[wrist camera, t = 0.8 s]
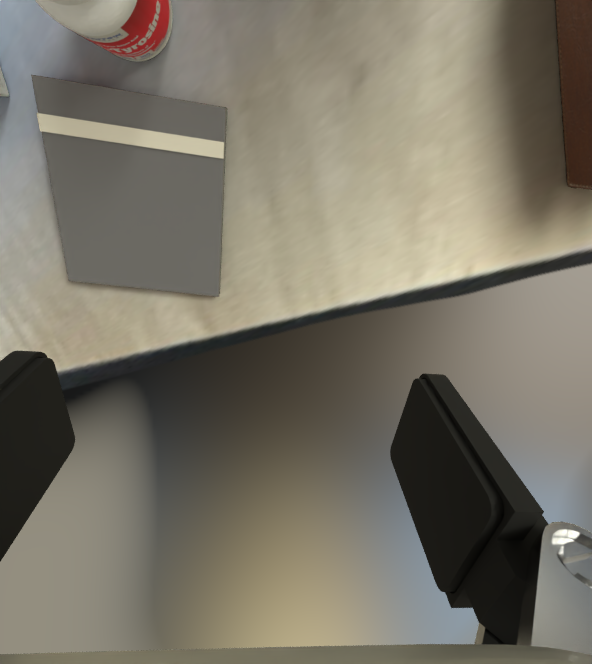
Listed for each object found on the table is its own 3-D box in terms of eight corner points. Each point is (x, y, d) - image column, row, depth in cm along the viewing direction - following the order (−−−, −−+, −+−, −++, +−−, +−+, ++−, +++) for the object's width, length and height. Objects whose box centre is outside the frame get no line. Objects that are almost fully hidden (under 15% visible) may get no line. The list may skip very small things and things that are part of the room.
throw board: (39, 76, 26) (29, 74, 25) (227, 108, 28) (225, 107, 27) (74, 277, 34) (67, 281, 33) (219, 292, 35) (218, 297, 34)
